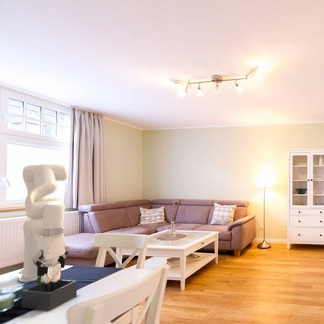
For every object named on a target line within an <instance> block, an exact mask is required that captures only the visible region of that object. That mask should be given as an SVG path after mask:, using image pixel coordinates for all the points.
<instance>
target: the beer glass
mask: <svg viewBox="0 0 324 324" xmlns="http://www.w3.org/2000/svg"><path fill="white" fill-rule="evenodd" d="M44 266H45V275H44V276H41V281H42V287H43V292H52V291H55V290H57V289H58V287H59V282H60V280H61V277H62V268H61V263H60V262H52V263H47V264H44Z"/></svg>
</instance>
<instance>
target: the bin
mask: <svg viewBox="0 0 324 324" xmlns="http://www.w3.org/2000/svg"><path fill="white" fill-rule="evenodd" d="M77 293H78V280H73V279H72V280H71V279H60V282H59V287H58V289H57V290H55V291H52V292H43V287H42V283H40V284H36V285H33V286H30V287H27V288H25V289H23V290H22V291H21V307H20V308H23V309H30V310H31V309H32V310H40V311H51V310H54V309H55V308H57V307H59V306H61V305H63V304H64V303H66V302H68V301H70V300H72V299H74V298H76V297H77V296H78V295H77Z"/></svg>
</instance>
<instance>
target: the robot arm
mask: <svg viewBox="0 0 324 324" xmlns="http://www.w3.org/2000/svg"><path fill="white" fill-rule="evenodd" d="M68 177H69V170H68V168H67V166H66V165H65V164H59V163H58V164H57V163H56V164H55V163H54V164H53V163H43V164H42V163H41V164H31V165H30V164H29V165H26V166H24V167H23V168H22V179H23V182H24V184H25V186H26V192H27V193H26V194H27V195H26V197H25V201H24V206H25V215H26V217H27V218H28V219H27V220H25V221H24V222H23V225H22V231H23V237H24V240H23V241H24V245H23V247H24V248H23V249H24V250H23V268H21V270H19V271H18V274H20V275H21V276H20V277H19V278H18V281H19V282H22V283H30V282H36V281H37V275H38V276H44V275H45V266H44V264H45V263H46V261H47V260H50V259H53V258H56V257H59V259H58V262H60V263H61V269H64V268H66V267H65V266H66V265H65V263H66V259H67V256H68V254H69V252H70V249H71V247H70V246H67V245H66V237H65V233H64V230H65V226H64V225H65V211H66V205H65V204H64V202H63V199H62V198H61V197H59V196H49V195H52V194H53V193H55V192H56V190H57V189H58V184H57V182H59V181H60V182H62V181H66V180H67V179H68ZM42 261H43V262H42ZM41 262H42V263H41Z"/></svg>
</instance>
